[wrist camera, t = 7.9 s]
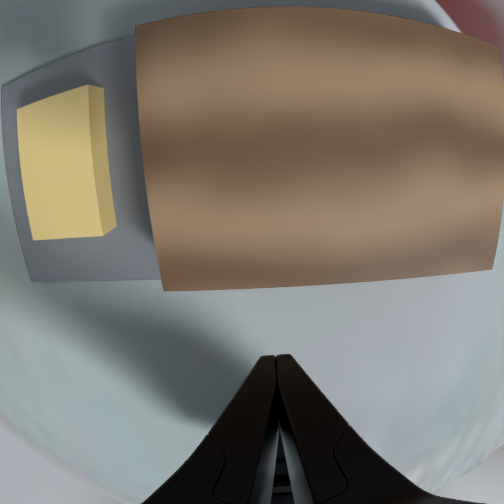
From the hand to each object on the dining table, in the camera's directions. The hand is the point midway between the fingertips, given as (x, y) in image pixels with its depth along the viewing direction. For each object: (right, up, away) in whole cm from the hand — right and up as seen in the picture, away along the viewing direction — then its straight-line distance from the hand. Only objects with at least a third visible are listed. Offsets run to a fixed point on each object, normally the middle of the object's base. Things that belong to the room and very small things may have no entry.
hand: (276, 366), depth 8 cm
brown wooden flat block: (+4, +10, +9) cm, 13 cm away
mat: (-13, +9, +9) cm, 18 cm away
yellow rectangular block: (-13, +8, +7) cm, 17 cm away
